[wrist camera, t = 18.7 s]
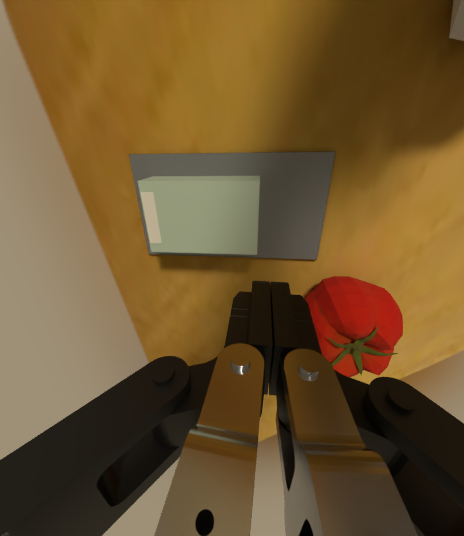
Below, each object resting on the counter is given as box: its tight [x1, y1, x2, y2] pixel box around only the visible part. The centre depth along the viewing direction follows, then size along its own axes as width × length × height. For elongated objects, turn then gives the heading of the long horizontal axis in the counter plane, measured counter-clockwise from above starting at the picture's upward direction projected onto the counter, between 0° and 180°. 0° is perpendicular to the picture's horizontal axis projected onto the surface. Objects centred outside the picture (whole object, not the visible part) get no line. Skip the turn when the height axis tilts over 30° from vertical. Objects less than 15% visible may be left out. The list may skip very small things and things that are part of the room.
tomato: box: [305, 276, 403, 378], centre depth 26 cm, size 11×11×9 cm
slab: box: [138, 176, 260, 255], centre depth 24 cm, size 7×4×11 cm
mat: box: [129, 152, 335, 260], centre depth 25 cm, size 11×20×1 cm, turn 91°
